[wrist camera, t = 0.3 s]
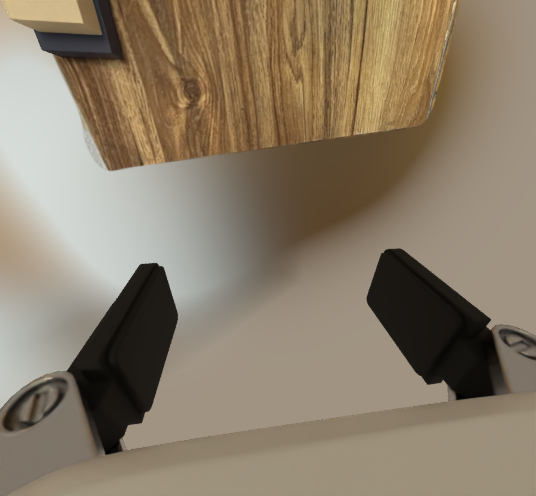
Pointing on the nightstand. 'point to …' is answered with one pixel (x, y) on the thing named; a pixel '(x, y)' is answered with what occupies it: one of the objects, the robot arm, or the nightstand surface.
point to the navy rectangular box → (86, 39)
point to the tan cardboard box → (55, 15)
